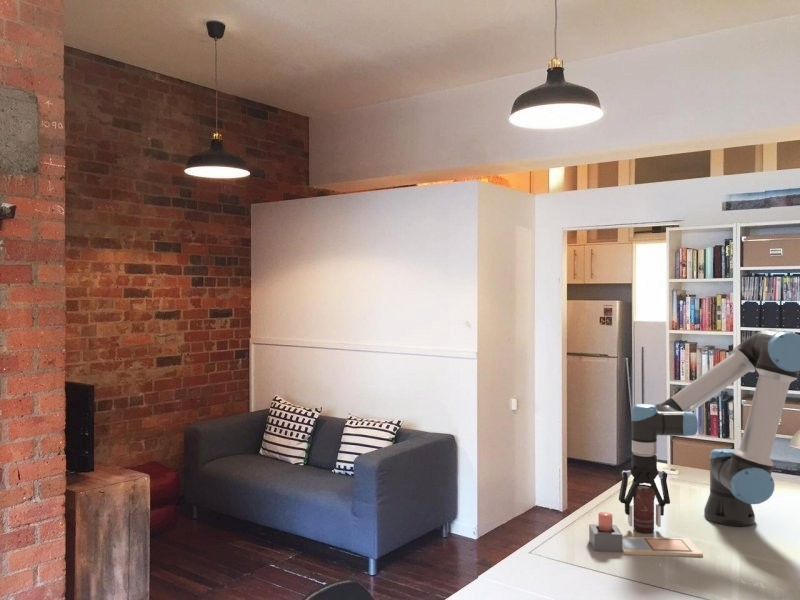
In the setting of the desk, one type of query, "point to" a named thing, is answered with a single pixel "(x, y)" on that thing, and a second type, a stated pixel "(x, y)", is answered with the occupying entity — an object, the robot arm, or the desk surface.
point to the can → (643, 509)
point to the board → (659, 546)
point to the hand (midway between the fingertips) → (644, 524)
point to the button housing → (605, 539)
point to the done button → (605, 521)
